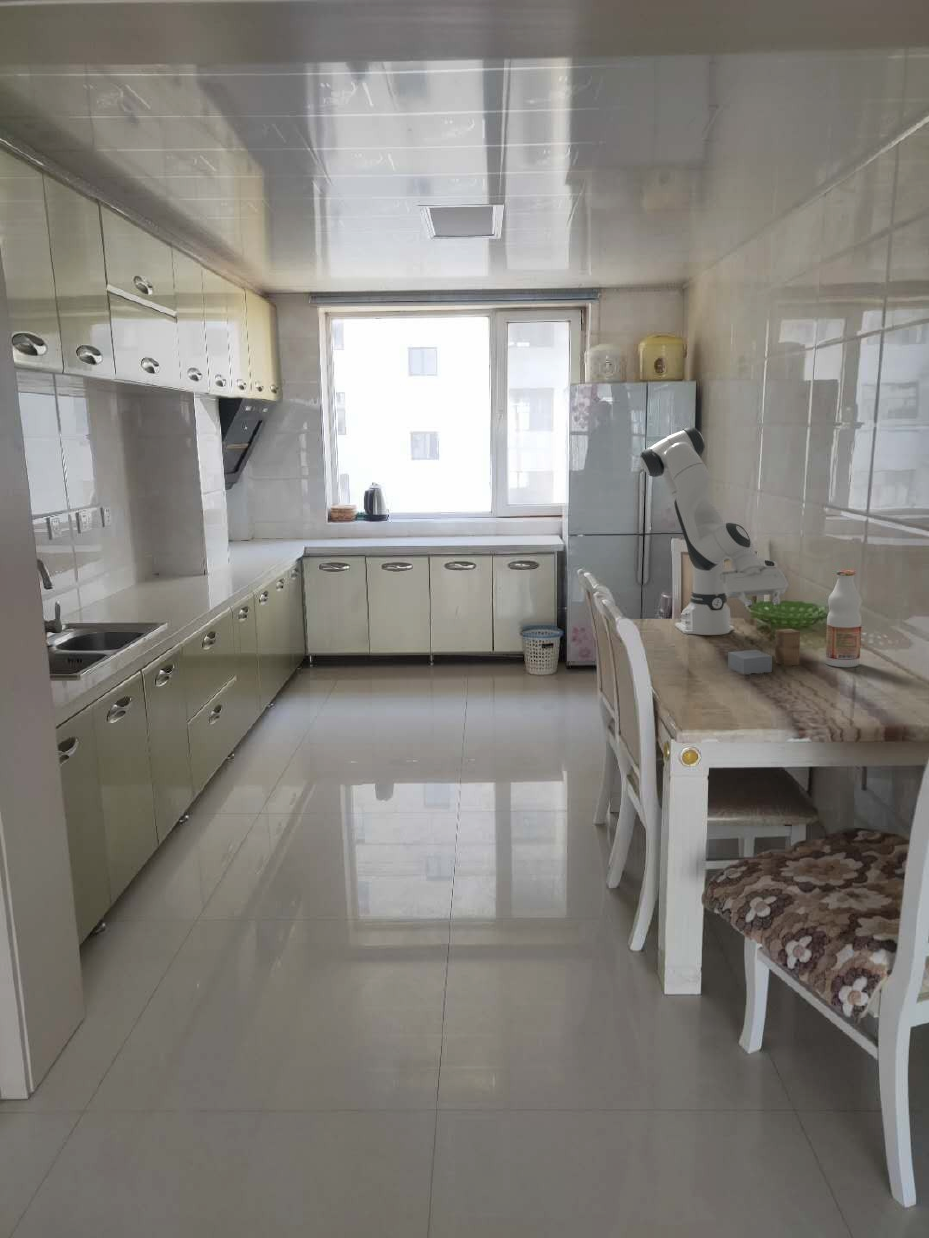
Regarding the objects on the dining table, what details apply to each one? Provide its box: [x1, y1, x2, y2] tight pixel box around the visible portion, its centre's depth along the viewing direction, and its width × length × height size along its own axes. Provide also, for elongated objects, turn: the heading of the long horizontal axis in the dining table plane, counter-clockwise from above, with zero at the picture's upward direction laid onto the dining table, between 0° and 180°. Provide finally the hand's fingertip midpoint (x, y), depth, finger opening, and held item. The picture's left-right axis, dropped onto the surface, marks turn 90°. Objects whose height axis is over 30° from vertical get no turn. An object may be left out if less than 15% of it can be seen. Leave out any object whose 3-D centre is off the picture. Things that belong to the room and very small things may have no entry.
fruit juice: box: [825, 569, 863, 668], centre depth 266 cm, size 9×9×28 cm
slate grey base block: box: [727, 649, 773, 676], centre depth 266 cm, size 9×9×5 cm
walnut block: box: [774, 628, 801, 666], centre depth 271 cm, size 5×5×10 cm
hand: (763, 604), depth 281 cm, fingers open, 8 cm apart
